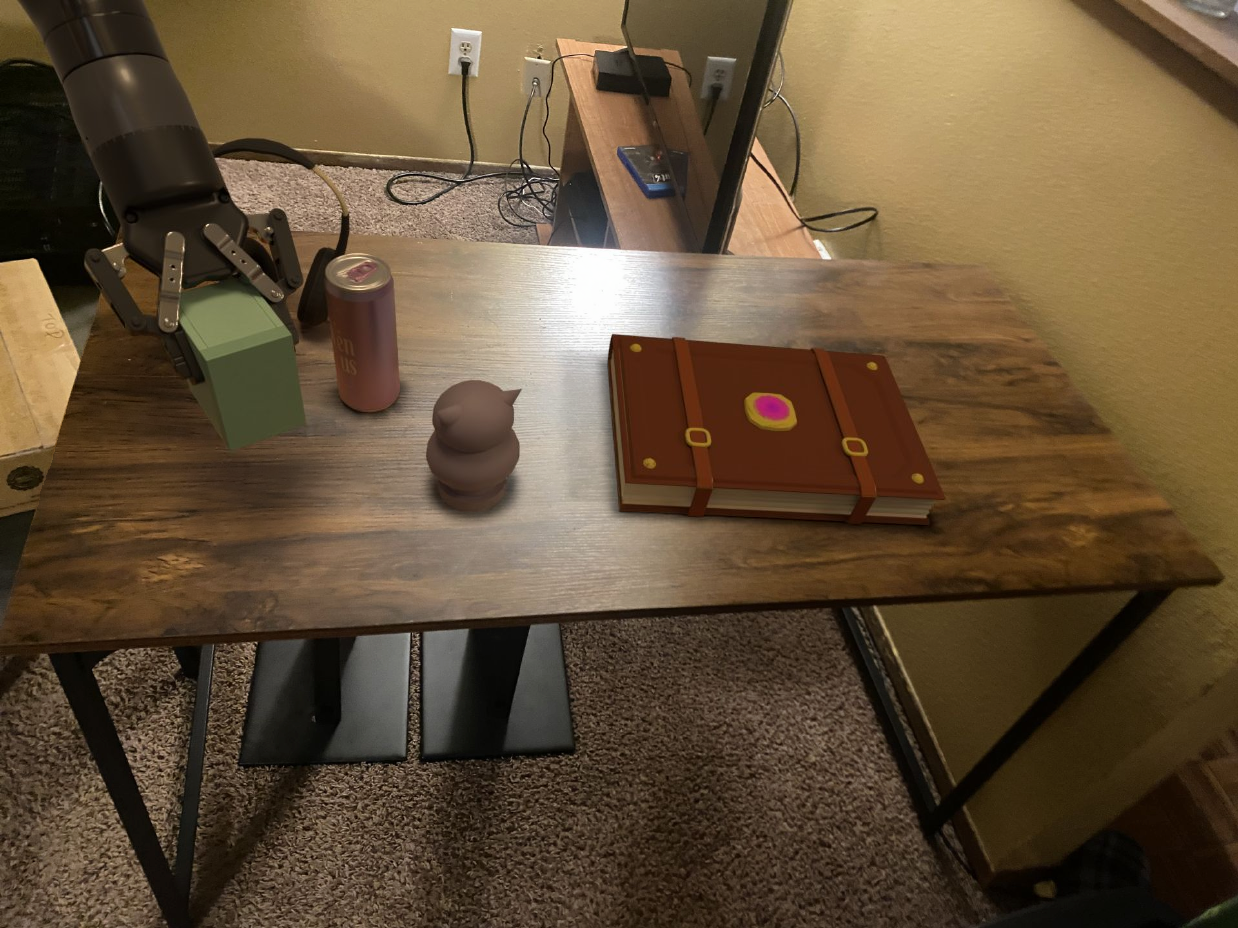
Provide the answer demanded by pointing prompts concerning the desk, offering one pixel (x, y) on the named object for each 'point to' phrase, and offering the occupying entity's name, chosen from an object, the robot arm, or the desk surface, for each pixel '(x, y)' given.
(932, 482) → the book
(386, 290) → the beverage can
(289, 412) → the green open-top box
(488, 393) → the cat figurine
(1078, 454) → the desk surface
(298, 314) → the headphones
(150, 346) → the desk surface
